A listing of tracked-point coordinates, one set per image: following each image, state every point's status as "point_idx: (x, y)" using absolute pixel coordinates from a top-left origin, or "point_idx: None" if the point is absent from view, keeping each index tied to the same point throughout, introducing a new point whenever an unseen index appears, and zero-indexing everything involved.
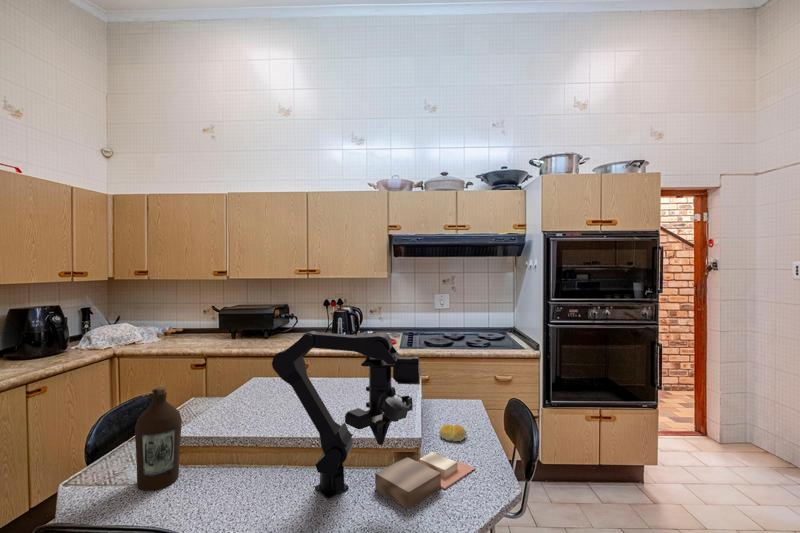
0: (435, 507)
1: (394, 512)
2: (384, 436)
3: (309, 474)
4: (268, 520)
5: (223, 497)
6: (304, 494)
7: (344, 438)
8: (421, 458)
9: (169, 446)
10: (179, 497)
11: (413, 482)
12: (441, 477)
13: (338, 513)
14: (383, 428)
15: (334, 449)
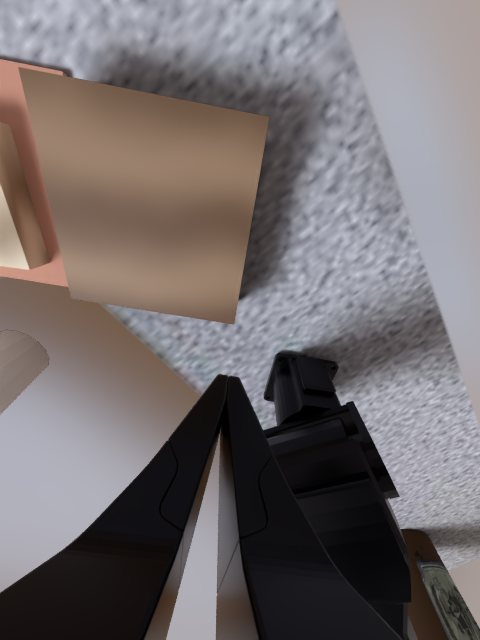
0: (190, 26)
1: (304, 173)
2: (205, 411)
3: None
4: (448, 400)
5: (406, 480)
6: (342, 405)
7: (345, 523)
8: (20, 266)
9: (453, 624)
10: (426, 510)
11: (190, 151)
12: (22, 139)
13: (377, 310)
14: (198, 494)
15: (396, 491)
